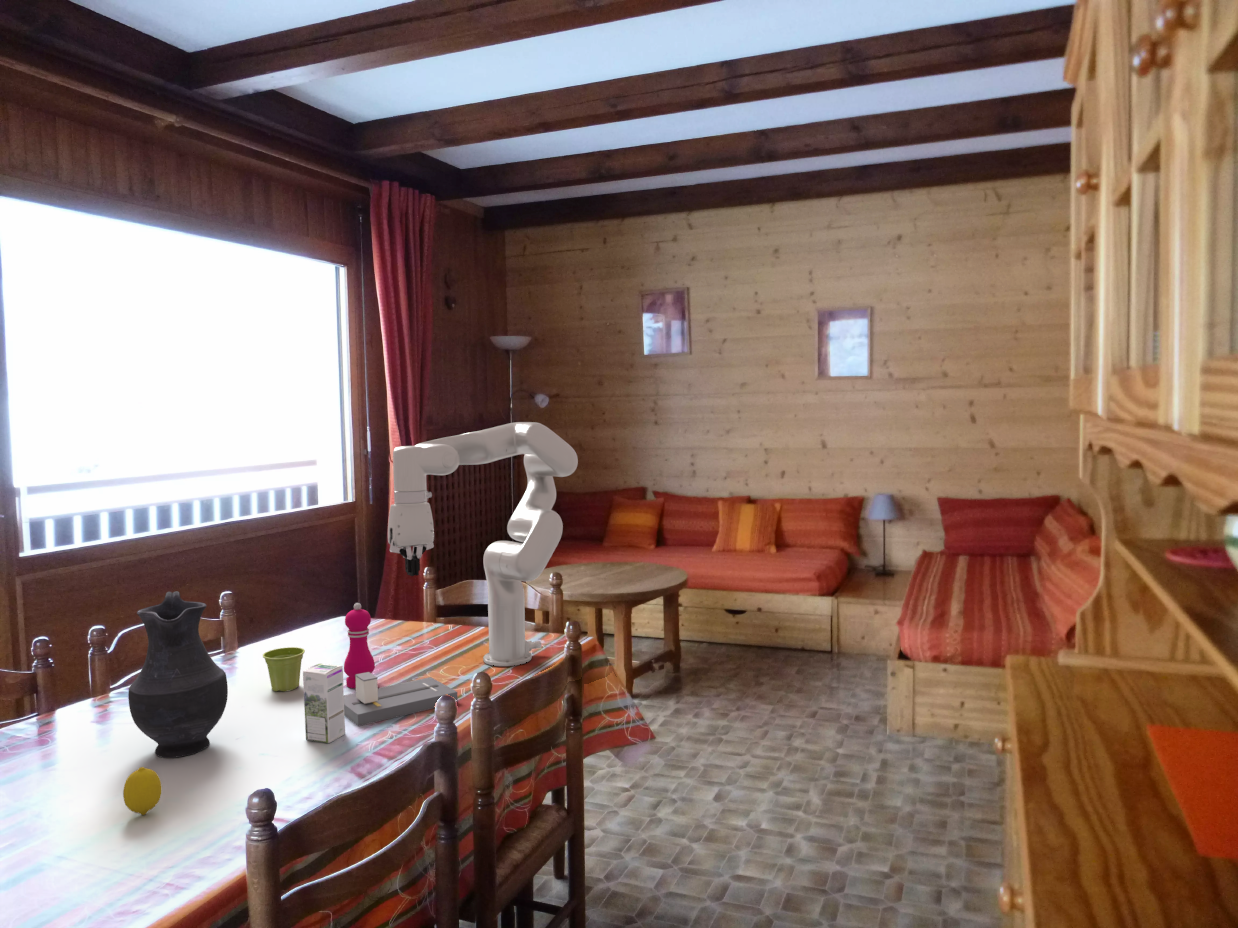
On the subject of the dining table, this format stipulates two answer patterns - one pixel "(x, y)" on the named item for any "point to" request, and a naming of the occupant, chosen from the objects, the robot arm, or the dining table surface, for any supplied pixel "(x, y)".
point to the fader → (366, 687)
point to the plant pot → (284, 667)
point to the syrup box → (324, 703)
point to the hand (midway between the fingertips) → (412, 574)
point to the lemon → (142, 790)
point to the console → (396, 701)
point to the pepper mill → (358, 645)
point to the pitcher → (177, 680)
